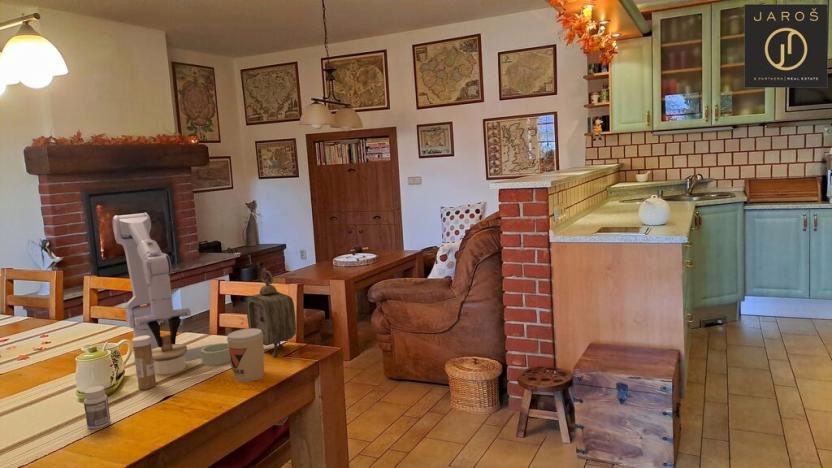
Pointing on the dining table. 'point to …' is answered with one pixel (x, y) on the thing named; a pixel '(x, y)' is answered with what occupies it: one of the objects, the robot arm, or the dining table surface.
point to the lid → (168, 349)
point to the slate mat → (194, 353)
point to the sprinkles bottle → (144, 362)
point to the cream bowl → (169, 364)
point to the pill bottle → (96, 407)
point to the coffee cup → (246, 354)
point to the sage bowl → (215, 354)
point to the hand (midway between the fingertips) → (166, 345)
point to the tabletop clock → (271, 314)
